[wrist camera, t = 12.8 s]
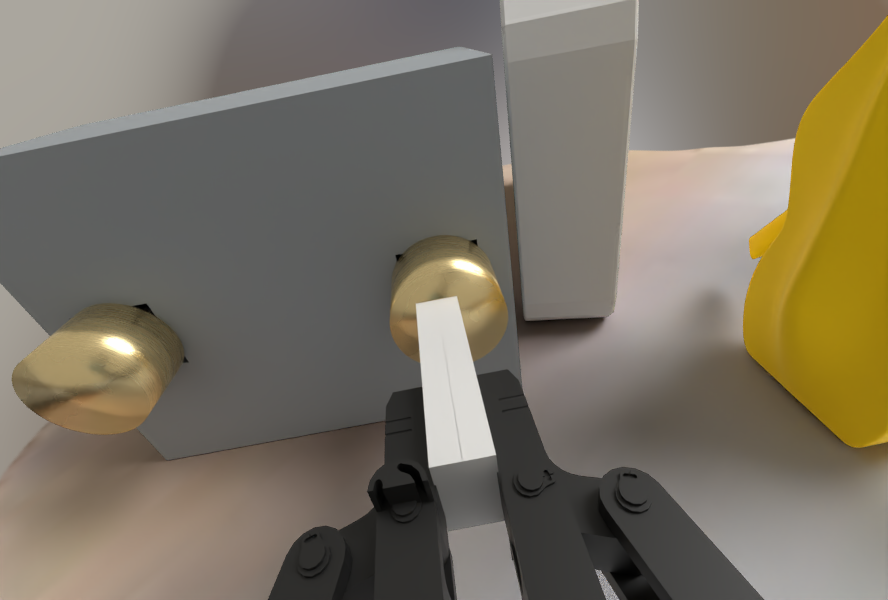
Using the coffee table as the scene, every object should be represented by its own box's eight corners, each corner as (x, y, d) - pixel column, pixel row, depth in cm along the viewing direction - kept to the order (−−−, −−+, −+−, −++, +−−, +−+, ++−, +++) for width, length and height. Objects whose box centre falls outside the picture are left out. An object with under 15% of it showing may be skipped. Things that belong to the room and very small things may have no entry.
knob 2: (478, 253, 24) (467, 180, 21) (512, 356, 16) (502, 260, 14) (404, 267, 24) (385, 196, 21) (404, 376, 16) (375, 285, 14)
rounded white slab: (655, 332, 24) (718, -65, 14) (525, 338, 26) (497, -15, 16) (584, 175, 47) (589, -18, 37) (518, 183, 49) (505, 0, 39)
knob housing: (492, 302, 29) (459, 46, 20) (522, 395, 22) (492, 54, 13) (226, 353, 30) (81, 125, 21) (166, 460, 22) (-100, 176, 13)
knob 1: (245, 300, 24) (208, 232, 21) (172, 423, 16) (101, 341, 14) (173, 314, 24) (128, 248, 21) (67, 442, 16) (-21, 364, 14)
